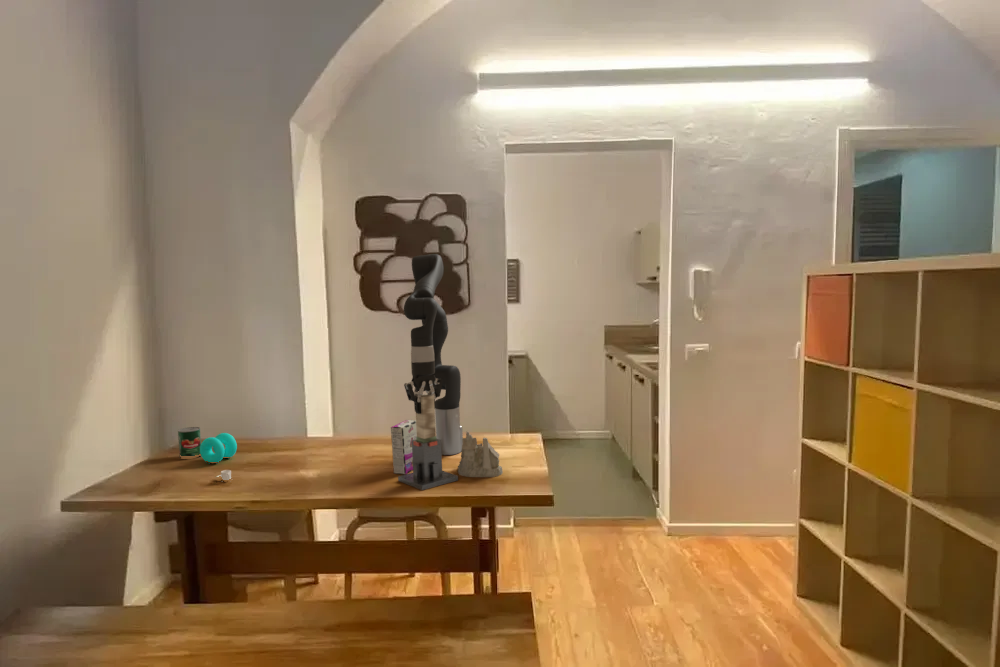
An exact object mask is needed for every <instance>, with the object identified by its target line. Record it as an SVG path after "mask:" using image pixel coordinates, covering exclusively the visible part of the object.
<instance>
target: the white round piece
mask: <svg viewBox="0 0 1000 667" xmlns="http://www.w3.org/2000/svg"><path fill="white" fill-rule="evenodd" d="M219 476H221V477H222V479H223V480H229V479H231V478H232V470H231V469H224V470H221V471H220V474H219V475H216V477H219ZM216 477H215V478H216ZM231 480H232V479H231Z"/></svg>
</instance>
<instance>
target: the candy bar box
mask: <svg viewBox="0 0 1000 667" xmlns="http://www.w3.org/2000/svg"><path fill="white" fill-rule="evenodd" d="M390 434H391V449H392V451H391V453H392V467H393V474H396V475H406V474H410V472H413V456H412V440H415V439H416V437H417V431H416V419H414V420H413V419H411V420H410V419H405V420H404V421H402V422H399V423H397V424H395V425H393V426H391V427H390Z"/></svg>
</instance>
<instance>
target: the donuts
mask: <svg viewBox="0 0 1000 667" xmlns="http://www.w3.org/2000/svg"><path fill="white" fill-rule="evenodd" d="M237 449H238V444H237V441H236V439H235V437H234V436H233V435H232V434H230V433H228V432H221V433H219V434H217V435H216V436H215V437H214V436H209V437H207V438H205V439H204V440H202V441H201V446H200V454H201V458H202V460H204V462H206V461H208V462H218V463H220V462H221V461H222V460H223V457H231V458H232V457H233V456H235V454H236V453H237V451H238V450H237ZM219 461H220V462H219Z"/></svg>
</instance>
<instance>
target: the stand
mask: <svg viewBox="0 0 1000 667" xmlns="http://www.w3.org/2000/svg"><path fill="white" fill-rule="evenodd" d="M412 456H413V470H412V472H411V473H410V472H409V473H407V474H401V475H398V476H397V480H398V482H400V483H403V484H405V485H408V486H411V487H412V488H415V489H418V490H420V491H425V490H428V489H429V490H430V489H431V488H435V487H439V486H443V485H447V484H449V483H450V484H451V483H454V482H457V481H459V475H457V474H454V473H452V472H451V473H450V472H449V471H445V470H443V458H442V456H443V455H442V453H441V440H440V439H436V440H435V441H430V442H426V443H423V442H420V441H417V440H416V439H415V440H412Z"/></svg>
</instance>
